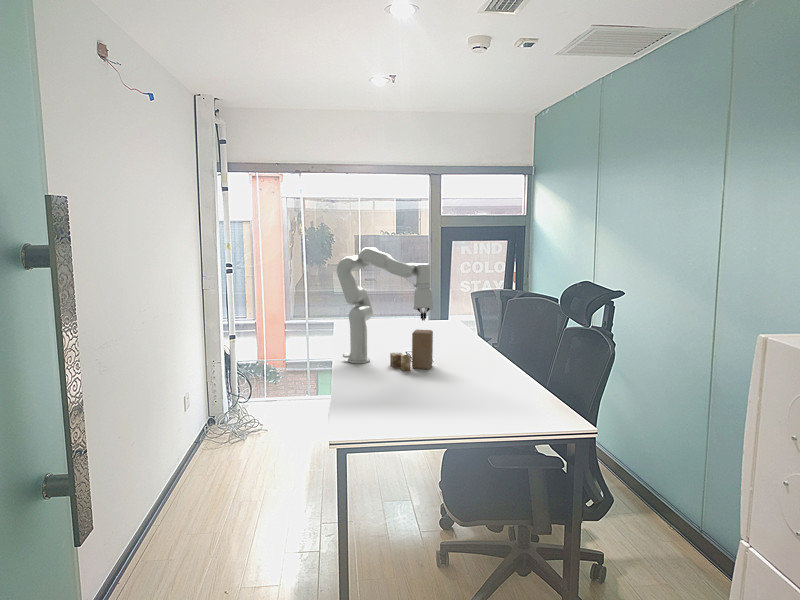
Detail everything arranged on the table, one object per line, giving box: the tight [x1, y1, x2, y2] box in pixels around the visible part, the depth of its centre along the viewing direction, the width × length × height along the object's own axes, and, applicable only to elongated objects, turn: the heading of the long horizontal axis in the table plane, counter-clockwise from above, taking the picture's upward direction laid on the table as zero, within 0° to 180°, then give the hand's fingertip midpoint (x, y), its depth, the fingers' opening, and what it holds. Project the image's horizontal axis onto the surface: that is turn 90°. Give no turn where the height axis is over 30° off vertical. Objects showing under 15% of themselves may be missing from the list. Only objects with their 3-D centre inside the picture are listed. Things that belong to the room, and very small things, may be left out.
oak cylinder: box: [400, 354, 412, 372], centre depth 301 cm, size 5×5×8 cm
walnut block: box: [389, 352, 404, 369], centre depth 309 cm, size 6×6×7 cm
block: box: [411, 329, 434, 370], centre depth 307 cm, size 10×10×20 cm
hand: (423, 320), depth 305 cm, fingers closed
